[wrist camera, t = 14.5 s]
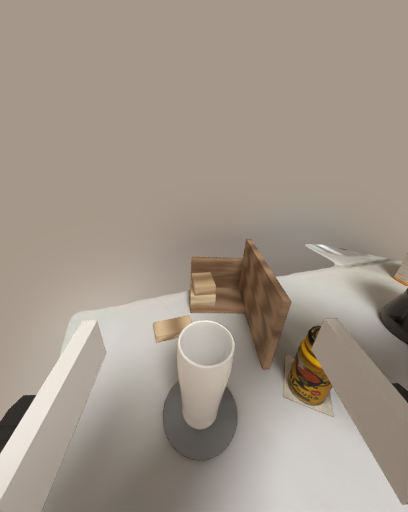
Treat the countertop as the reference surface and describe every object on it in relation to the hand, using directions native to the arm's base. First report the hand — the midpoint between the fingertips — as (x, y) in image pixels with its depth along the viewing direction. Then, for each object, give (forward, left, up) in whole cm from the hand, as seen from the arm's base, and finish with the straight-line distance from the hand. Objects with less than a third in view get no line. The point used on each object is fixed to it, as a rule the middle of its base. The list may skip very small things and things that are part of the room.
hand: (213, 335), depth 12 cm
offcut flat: (+21, -12, -26) cm, 35 cm away
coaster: (+6, -6, -25) cm, 27 cm away
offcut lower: (+24, -23, -24) cm, 41 cm away
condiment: (-3, -23, -26) cm, 34 cm away
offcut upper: (+24, -23, -21) cm, 40 cm away
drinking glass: (+6, -5, -25) cm, 26 cm away
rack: (+16, -22, -25) cm, 37 cm away
